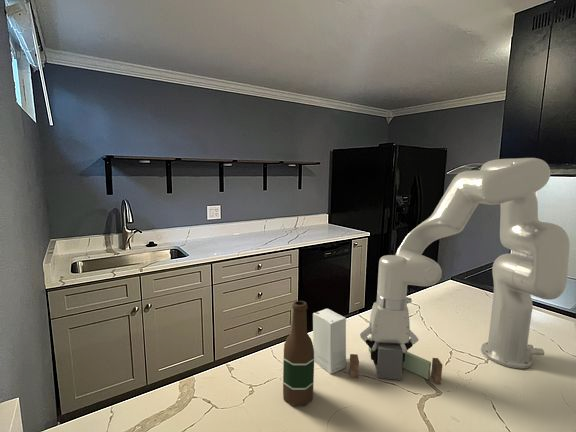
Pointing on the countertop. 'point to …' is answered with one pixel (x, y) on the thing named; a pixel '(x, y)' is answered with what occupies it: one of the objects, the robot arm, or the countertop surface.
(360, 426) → the countertop surface
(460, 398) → the countertop surface
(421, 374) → the door
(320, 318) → the skincare box
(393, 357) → the block
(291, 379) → the beer bottle
